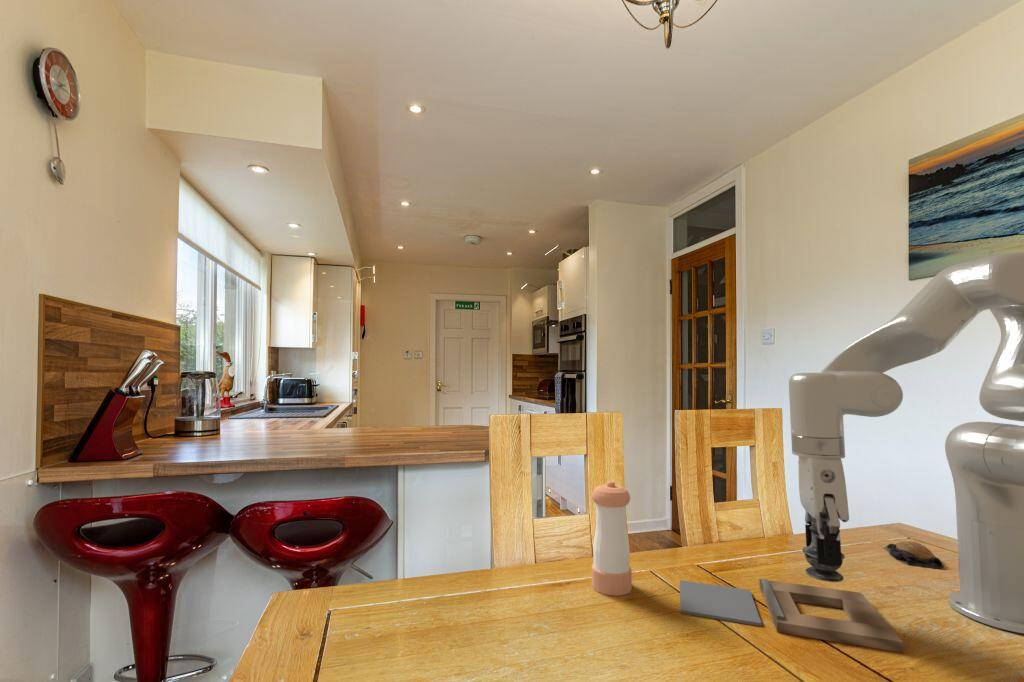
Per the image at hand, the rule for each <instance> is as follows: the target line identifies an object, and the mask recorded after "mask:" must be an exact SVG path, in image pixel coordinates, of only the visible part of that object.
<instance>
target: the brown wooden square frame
mask: <svg viewBox="0 0 1024 682" xmlns="http://www.w3.org/2000/svg"><path fill="white" fill-rule="evenodd" d="M758 582H759V583H758V584H759V590H760V592H761V595H762V597H763V599H764V603H765V604H766V607H767V611H768V613H769V614H770V617H771V619H772V623H773V624H774V627H775V630H776V633H781V634H788V635H792V636H799V637H806V638H812V639H817V640H824V641H829V642H835V643H840V644H848V645H854V646H855V645H856V646H860V647H865V648H872V649H879V650H883V651H891V652H896V653H904V641H903V640H902V639H901V638H900V637H899V635H898V634H897V633H896V632H895V630H894V629H893V628H892V627H891V626H890V624H889V623H887V621H886V620H885V619H884V618H883V617H882V615H881V613H879V612H878V611H877V609H876V608H875V607H874V605H872V603H871V602H870V601H869V600H868V598H866V596H865V595H864V594H863V593H862V592H860V591H859V592H858V591H852V590H851V591H850V590H844V589H836V588H829V587H821V586H814V585H813V586H812V585H807V584H801V583H799V584H798V583H792V582H785V581H784V582H783V581H776V580H768V579H765V578H761V579H760V578H759V581H758ZM796 603H803V604H808V605H809V604H810V605H817V606H822V607H829V608H836V609H842V611H844V613H845V614H846V616H847V617H848V619H849V621H848V620H843V619H842V620H841V619H836V618H829V617H825V616H824V617H823V616H817V615H809V614H803V613H801V612H800V611H799V609H798V607H797V606H796Z"/></svg>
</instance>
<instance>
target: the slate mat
mask: <svg viewBox="0 0 1024 682" xmlns="http://www.w3.org/2000/svg"><path fill="white" fill-rule="evenodd" d="M679 605H680V606H679V608H680V610H679V611H680V614H682V615H683V614H684V615H688V616H689V615H690V616H696V617H702V618H709V619H713V620H719V621H720V620H721V621H725V622H726V621H727V622H731V623H737V624H743V625H744V624H745V625H750V626H755V627H756V626H757V627H762V625H763V624H762V623H763V622H762V620H761V617H760V615H759V612H758V609H757V606H756V604H755V601H754V598H753V595H752V592H751V590H750V589H747V588H746V589H745V588H739V587H733V586H732V587H731V586H724V585H718V584H710V583H704V582H695V581H688V580H683V579H680V580H679Z"/></svg>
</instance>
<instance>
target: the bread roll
mask: <svg viewBox="0 0 1024 682" xmlns="http://www.w3.org/2000/svg"><path fill="white" fill-rule="evenodd" d="M883 549H884V551H886V553H888V555H890V556H891V557H892V558H894V559H895V560H897V561H898V562H900V563H901V564H903V565H906V566H911V567H917V568H918V567H919V568H924V569H933V570H946V567H945V566H944V564H943V562H942V561H941V560H940V558H938V557H936V556H935V554H934V553H933V552H932V551H931V550H930V549H929V548H928V547H926V546H925V545H924V544H923V545H922V544H921V543H918V542H915V541H900V542H897V543H896V544H895V543H889V544H888V545H886V546H884V547H883Z"/></svg>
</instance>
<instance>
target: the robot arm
mask: <svg viewBox="0 0 1024 682" xmlns="http://www.w3.org/2000/svg"><path fill="white" fill-rule="evenodd" d="M986 310H989V311H990V313H991V314H992V315H993V317H994V319H995V321H996V322H997V324H998V326H999V329H1000V341H999V345H998V346H997V350H996V352H995V354H994V357H993V360H992V362H991V364H990V366H989V368H988V369H987V370H988V371H987V373H986V375H985V377H984V380H983V382H982V385H981V387H980V391H979V397H978V398H979V399H978V401H979V404H980V406H981V407H982V409H983V410H984V411H985V412H986V413H988V414H989V415H992V416H994V417H997V418H1000V419H1004V420H1008V421H1015V422H1023V423H1024V251H1023V252H1008V253H1007V252H1005V253H1001V254H995V255H994V254H993V255H989V256H984V257H981V258H977V259H972V260H970V261H963V262H960V263H956V264H953V265H951V266H950V265H949V266H948V267H946V268H944V269H942V270H941V271H940V272H938V273H937V274H936V275H935V276H934V277H933V278H931V279H930V281H928V283H927V284H925V285H924V286H923V288H922V289H920V290H919V292H918V293H916V295H915V296H913V298H912V299H910V301H909V302H908V303H907V304H906V305H905V306H904V307H903V308H902V309H901V310H900V311H899V312H897V314H896V315H895V316H894V317H893V318H891V319H890V320H889V321H887V322H886V323H884V324H883V325H880V326H879V327H877V328H875V329H874V330H872V331H871V332H869V333H868V334H866V335H864V336H863V337H861V338H860V339H858V340H856V341H855V342H853V343H852V344H850V345H848V346H847V347H845V348H844V349H843V350H842V351H841V352H839V353H838V354H837V355H835V357H834V358H833V359H831V360H830V362H829V363H828V364H826V365H825V366H824V368H823V369H822V370H821V371H820V372H798V373H795V374H792V375H791V376H790V377H789V380H788V397H789V399H788V400H789V415H790V416H789V418H790V434H791V435H790V436H791V437H790V438H791V454H792V455H794V456H798V461H797V463H798V491H799V501H800V505H801V507H802V508H803V509H804V510H805V514H804V515H805V516H804V520H805V525H804V526H805V527H804V528H805V547H806V546H810V545H811V541H812V531H811V529H810V528H809V527H810V526H812V520H811V516H812V517H813V518H815V519H816V522H817V529H818V536H819V537H816V545H817V561H818V563H819V564H823V565H833V566H841V567H842V564H843V563H842V561H841V553H842V546H841V544H842V543H841V542H842V541H841V530H840V528H841V522H843V523H847V522H848V521H849V520H850V514H849V511H850V510H849V503H848V494H847V493H848V492H847V484H846V477H845V472H844V471H845V470H844V466H843V461H842V459H845V458H846V448H845V447H846V446H845V443H846V442H845V430H844V429H845V428H844V426H845V425H844V416H845V415H853V416H859V417H868V418H879V417H884V416H888V415H890V414H892V413H893V412H895V411H896V410H898V408H899V407H900V406H901V404H902V402H903V398H904V393H903V389H902V387H901V385H900V383H899V382H898V381H897V380H896V379H895V378H893V377H892V376H890V375H888V374H885V373H886V372H888V371H890V370H892V369H894V368H897V367H900V366H904V365H906V364H910V363H914V362H918V361H920V360H923V359H925V358H926V359H927V358H929V357H931V356H933V355H936V354H939V353H940V352H942V351H944V350H946V348H947V347H948V346H949V345H950V343H952V342H953V340H954V339H956V337H958V335H959V334H960V333H961V332H962V331H963V330H964V329H965V328H966V327H967V326H968V325H969V324H970V323H971V322H972V321H973V320H974V319H975V318H976V317H977V316H978V315H979V314H980V313H981V312H984V311H986ZM944 451H945V456H946V460H947V463H948V466H949V470H950V473H951V477H952V481H953V488H954V496H955V497H954V499H955V510H956V511H955V513H956V514H955V515H956V517H955V518H956V535H957V557H958V572H959V573H958V575H959V590H958V591H953V592H951V593H949V594H948V597H947V598H948V604H949V605H950V607H952V608H953V609H954V610H955V611H957V612H958V613H960V614H962V615H964V616H966V618H970V619H972V620H974V621H977V622H978V623H979V622H980V623H982V624H984V625H988V626H991V627H993V628H997V629H1000V630H1004V631H1008V632H1013V633H1018V634H1023V635H1024V425H1018V424H1011V423H1003V422H1001V423H1000V422H991V421H969V422H965V423H962V424H959V425H957V426H955V427H954V428H953V429H952V430H951V431H949V433H948V434H947V436H946V438H945V443H944ZM820 515H827V519H826V518H821V516H820ZM822 523H827V524H828V525H825V526H824V529H823V526H822Z"/></svg>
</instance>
